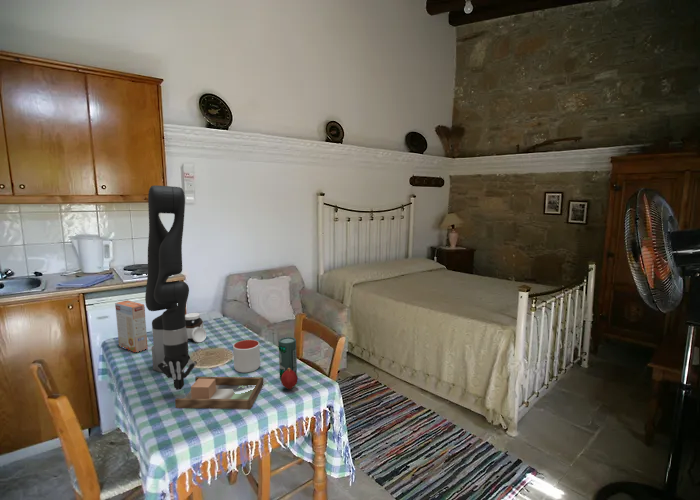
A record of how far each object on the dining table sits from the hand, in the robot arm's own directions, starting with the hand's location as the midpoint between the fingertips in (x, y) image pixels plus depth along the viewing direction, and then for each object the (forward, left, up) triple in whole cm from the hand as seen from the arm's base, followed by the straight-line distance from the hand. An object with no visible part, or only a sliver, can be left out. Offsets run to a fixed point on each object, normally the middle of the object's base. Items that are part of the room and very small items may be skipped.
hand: (179, 388), depth 132 cm
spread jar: (-17, +52, -3) cm, 54 cm away
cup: (+17, +22, -3) cm, 28 cm away
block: (+8, 0, -2) cm, 9 cm away
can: (+35, +14, -3) cm, 38 cm away
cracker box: (-41, +40, -3) cm, 57 cm away
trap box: (+14, 0, -3) cm, 15 cm away
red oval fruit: (+37, +6, -3) cm, 37 cm away
